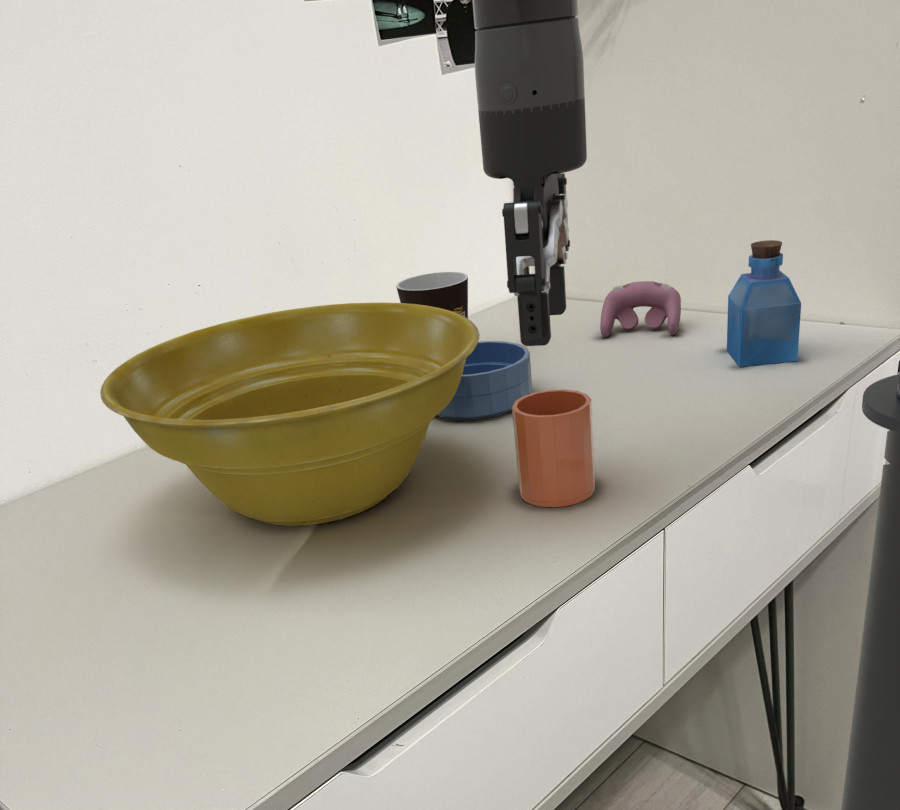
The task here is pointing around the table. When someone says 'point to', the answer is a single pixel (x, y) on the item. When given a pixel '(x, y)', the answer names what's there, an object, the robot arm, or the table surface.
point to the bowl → (491, 381)
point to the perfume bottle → (763, 311)
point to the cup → (554, 447)
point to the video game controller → (638, 295)
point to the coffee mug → (437, 291)
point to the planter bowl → (298, 403)
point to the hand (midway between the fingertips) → (544, 328)
